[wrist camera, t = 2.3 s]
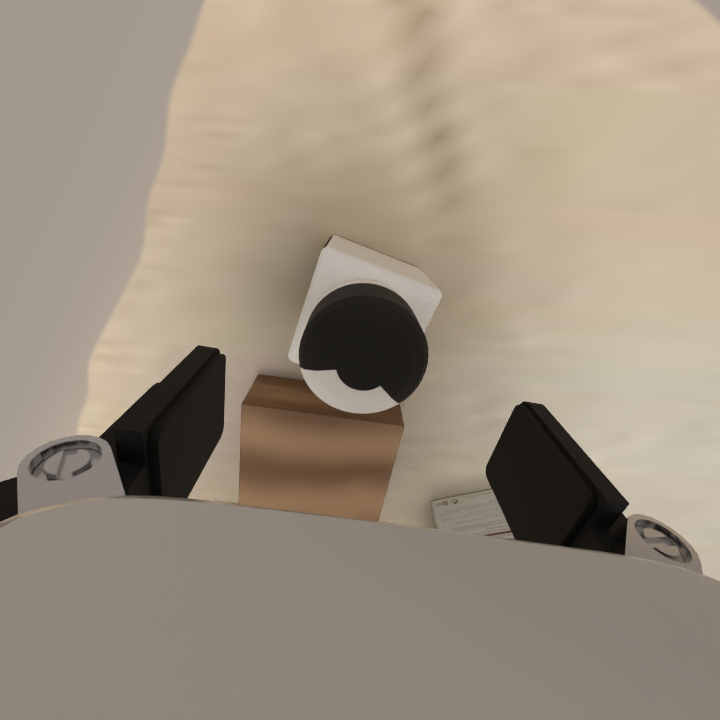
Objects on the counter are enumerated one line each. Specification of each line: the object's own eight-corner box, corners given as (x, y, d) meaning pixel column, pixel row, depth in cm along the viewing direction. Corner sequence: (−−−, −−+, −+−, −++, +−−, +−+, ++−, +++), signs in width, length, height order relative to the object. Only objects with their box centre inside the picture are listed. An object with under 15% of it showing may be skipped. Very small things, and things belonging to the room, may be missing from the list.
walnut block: (371, 492, 35) (374, 535, 31) (253, 478, 34) (238, 520, 30) (397, 392, 30) (404, 426, 26) (259, 372, 29) (241, 404, 25)
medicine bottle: (331, 233, 24) (311, 260, 13) (423, 269, 25) (473, 322, 14) (302, 323, 27) (265, 406, 16) (385, 352, 28) (404, 448, 17)
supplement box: (507, 533, 38) (573, 680, 26) (440, 545, 38) (475, 693, 27) (502, 484, 34) (574, 626, 23) (429, 498, 35) (464, 643, 24)
